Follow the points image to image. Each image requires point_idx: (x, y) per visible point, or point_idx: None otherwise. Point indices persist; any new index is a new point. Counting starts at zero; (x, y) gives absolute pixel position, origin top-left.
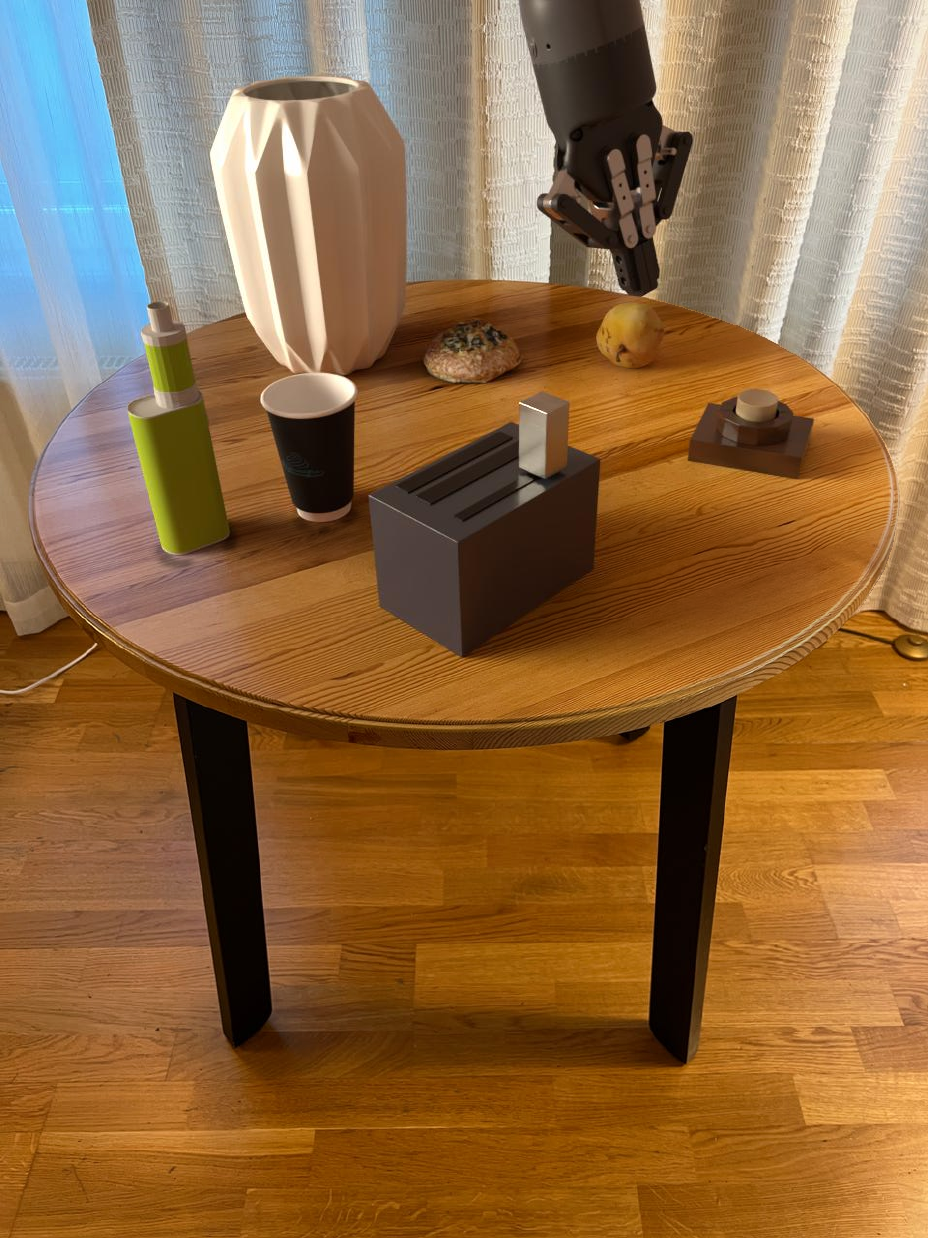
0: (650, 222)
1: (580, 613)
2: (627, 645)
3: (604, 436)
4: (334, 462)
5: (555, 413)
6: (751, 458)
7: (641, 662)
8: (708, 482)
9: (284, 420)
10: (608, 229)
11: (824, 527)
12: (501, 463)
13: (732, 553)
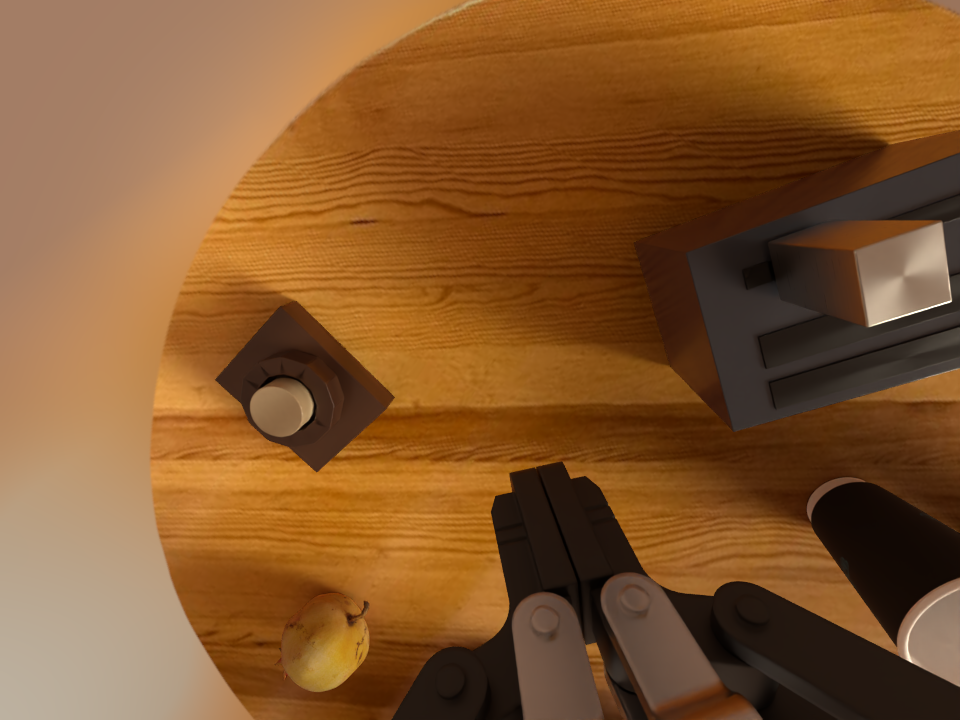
0: (537, 649)
1: (704, 164)
2: (694, 74)
3: (455, 487)
4: (913, 520)
5: (900, 230)
6: (332, 348)
7: (701, 32)
8: (398, 344)
9: None
10: (777, 659)
11: (325, 192)
12: None
13: (460, 194)
